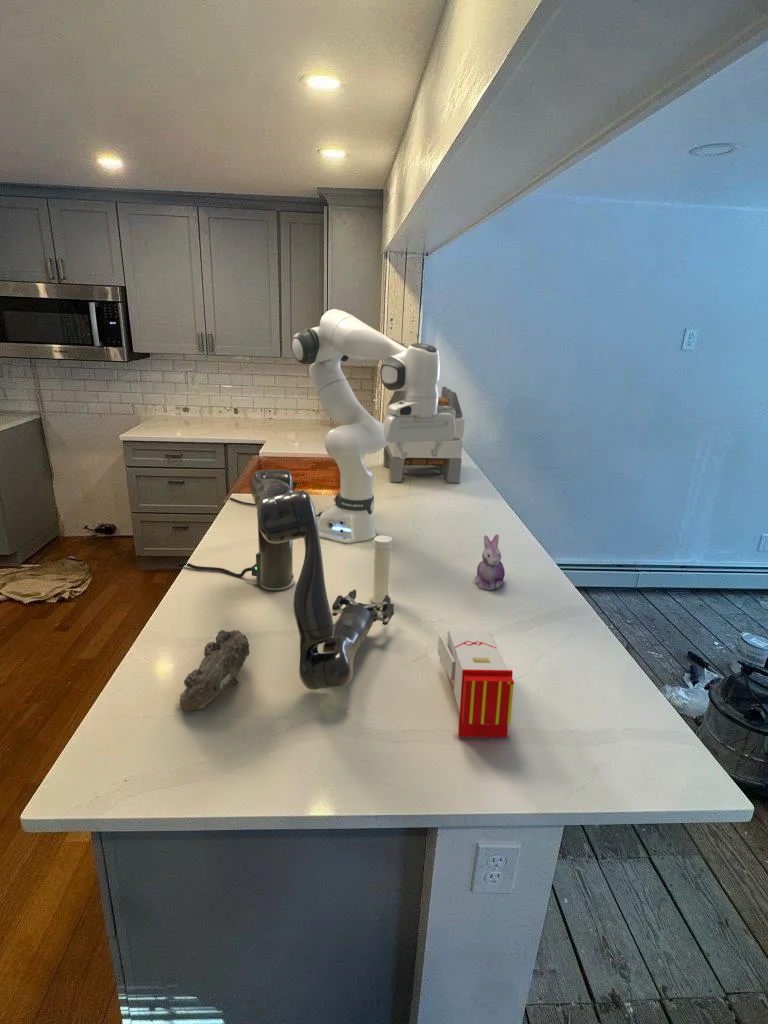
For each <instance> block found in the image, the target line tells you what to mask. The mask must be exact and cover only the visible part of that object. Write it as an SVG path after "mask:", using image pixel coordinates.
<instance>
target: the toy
mask: <svg viewBox="0 0 768 1024" xmlns="http://www.w3.org/2000/svg"><path fill="white" fill-rule="evenodd" d="M446 640H447V643H446V641H445V639H444V636H443V635H442V634H439V637H438V646H437V656H438V657H439V659H440V661H441V663H442V666H443V668H444V670H445V672H446V674H447V677H448V679H449V681H450V684H451V687H452V690H453V693H454V697H455V701H456V705H457V708H458V711H459V714H458V715H459V716H458V730H457V731H458V732H457V737H458V738H508V731H509V726H510V725H511V717H512V707H513V697H514V696H513V695H514V684H515V680H514V679H513V673H514V671H513V670H512V669H508V667H507V665H506V662H505V661H504V659H503V658H502V655H501V653H500V651H499V649H498V647H497V643H496V639H495V637H494V635H493V634H491V632H490V631H489V629H467V628H466V629H465V628H463V629H461V628H460V629H459V628H448V630H447V639H446Z"/></svg>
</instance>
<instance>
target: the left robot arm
mask: <svg viewBox="0 0 768 1024" xmlns="http://www.w3.org/2000/svg"><path fill="white" fill-rule="evenodd" d="M250 479H251V480H250V492H251V497H252V499H253V501H254V504H256V506H255V508H256V510H257V511H256V518H257V538H258V540H257V541H258V542H257V544H258V552H257V553H255V564H253V565H251V567H246V568H244V569H242V570H241V572H240V573H235V572H232V571H230V570H228V569H226V568H223V567H216V566H200V565H195V564H192V563H189V562H187V561H181V562H179V563H178V564H177V566H176V567H177V568H181V567H182V566H186V567H189V568H191V569H194V570H201V571H215V572H222V573H225V574H227V575H229V576H231V577H235V578H242V577H243V576H245V574H246V573H248V572H251V576H252V577H256V586H258V587H260V588H262V589H264V590H266V591H271V592H272V591H273V592H278V591H279V592H280V591H284V590H287V589H289V588H291V587H292V586H293V585H294V580H295V579H294V577H295V576H294V561H293V560H294V559H293V558H294V557H293V555H294V554H293V541H295V540H299V539H303V540H304V559H303V563H302V567H301V569H300V570H301V571H300V574H299V577H298V579H297V583H296V585H295V589H294V592H293V597H292V598H293V599H292V609H293V615H294V618H295V623H296V625H297V626H296V627H297V630H298V635H299V663H298V664H299V665H298V673H299V678H300V679H299V680H300V681H301V684H303V686H304V687H305V688H307V689H308V690H311V691H317V690H318V691H319V690H328V689H338V688H342V687H345V686H346V685H347V684H348V683H350V682H351V680H352V678H353V675H354V663H355V662H354V661H355V655H356V653H357V652H358V650H359V648H360V646H362V644H363V643H364V641H365V639H366V638H367V636H368V634H369V632H370V631H371V628H372V626H373V624H374V623H375V622H377V621H379V622H382V623H381V624H382V625H383V626H387V625H388V624H389V622H390V621H391V619H392V617H393V616H394V612H395V604H393V603H391V600H392V599H391V597H390V595H389V594H388V595H386V596H385V598H384V600H383V602H381V603H377V602H376V603H373V602H372V603H371V604H369V603H362V602H356V600H355V599H356V598H357V589H352V590H351V591H349V592H348V594H347V595H345V596H344V597H343V595H341V594H340V595H337V597H336V599H335V600H334V602H333V604H332V606H330V603H329V599H328V594H327V589H326V580H325V572H324V571H325V570H324V561H323V553H322V546H321V539H320V538H321V537H319V530H318V524H317V523H318V519H317V518H318V517H316V515H317V513H316V508H315V505H314V502H313V500H312V498H311V496H310V494H309V493H308V492H307V490H296V491H295V490H294V491H293V482H294V480H293V476H292V473H291V471H290V470H288V469H261V470H257V471H254V472H253V475H252V477H251V478H250ZM187 563H188V564H187ZM186 564H187V565H186ZM343 606H344V607H343ZM330 607H331V608H330ZM342 607H343V608H342ZM338 615H339V616H338ZM336 616H338V618H337V619H336V620H335V622H334V619H333V617H336ZM321 644H323V645H322V652H319V650H318V648H319V645H321Z"/></svg>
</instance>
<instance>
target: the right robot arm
mask: <svg viewBox="0 0 768 1024" xmlns="http://www.w3.org/2000/svg"><path fill="white" fill-rule="evenodd" d="M291 351H292V354H293V356H294V358H295V360H297V362H298V363H300V364H301V365H309V370H308V372H309V376H310V379H311V383H312V387H313V389H314V391H315V393H316V395H317V397H318V400H319V402H320V403H321V405H322V407H323V410H324V411H325V414H326V415H327V416H328V418H330V419H331V420H333V421H335V422H337V423H338V424H340V425H339V426H336V427H335V428H333V429H331V430H329V431H328V432H327V433H326V434H325V437H324V449H325V451H326V453H327V454H328V455H329V457H331V458H332V459H333V460H334V462H335V463H336V465H337V468H338V470H339V476H340V477H339V478H340V480H339V481H340V484H339V485H340V488H339V489H340V490H339V491H338V492H337V494H336V495H335V496H334V497H333V502H334V504H333V505H331V506H329V507H328V508H326V509H325V510H322V511H320V512H318V514H317V513H316V518H318V520H317V524H318V530H319V538H323V539H326V540H330V541H336V542H339V543H343V544H352V543H357V542H365V541H368V540H372V539H374V538H375V537H376V536H377V532H376V528H375V523H374V513H373V512H374V509H375V496H374V473H373V471H372V470H371V469H369V468H368V467H367V466H366V464H365V456H368V455H371V454H375V453H378V452H380V451H381V450H384V447H386V446H387V444H388V442H389V443H396V446H397V448H398V449H399V451H400V458H401V459H403V458H407V452H406V451H404V450H403V448H402V446H404V442H421V441H435V443H437V444H436V445H435V447H434V449H431V456H438V450H439V449H440V448H441V446H442V444H443V440H452V439H453V438H454V437H455V410H454V408H452V407H451V406H438V397H439V392H438V386H439V381H440V379H441V372H442V371H441V370H442V369H441V366H440V364H441V363H440V354H439V351H438V349H437V348H436V347H435V346H434V345H431V344H426V343H420V342H419V343H418V342H417V343H416V342H415V343H411V344H410V345H408V346H407V345H405V344H403V343H401V342H399V341H397V340H395V339H394V338H391V337H389V336H387V335H385V334H384V333H382V332H380V331H379V330H377V329H374V328H373V327H371V326H370V325H368V324H367V323H365V322H364V321H362V320H360V319H359V318H357V317H356V316H354V315H352V314H351V313H349V312H347V311H344V310H341V309H337V308H332V309H329V310H327V311H326V312H325V313H324V314H323V315H322V316H321V318H320V320H319V326H315V327H311V328H310V327H308V328H305V329H302V330H300V331H298V332H297V333H295V334H294V335H293V337H292V339H291ZM349 358H350V359H353V360H367V361H368V360H370V361H371V360H372V361H373V360H374V361H382V363H381V366H380V370H379V377H380V382H381V383H382V386H384V388H385V389H387V390H388V391H391V392H392V391H393V392H395V391H406V394H405V399H403V400H401V401H398V402H396V403H393V404H390V405H389V406H388V412H389V413H391V414H389V415H388V416H387V417H386V416H385V420H384V422H383V421H380V420H378V419H377V418H375V417H373V416H372V415H371V414H370V413H369V412H368V411H367V410H366V409H365V408H364V406H362V405H361V403H360V402H359V400H358V399H357V397H356V395H355V393H354V391H353V389H352V387H351V385H350V383H349V382H348V380H347V378H346V376H345V374H344V373H343V370H342V368H341V361H342V362H347V361H348V360H349ZM451 409H452V410H451ZM229 500H230V501H233V502H236V503H240V504H242V505H248V506H255V507H256V504H255V503H254V502H253V503H252V502H246V501H241V500H239V499H237V498H233V497H229Z"/></svg>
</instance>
